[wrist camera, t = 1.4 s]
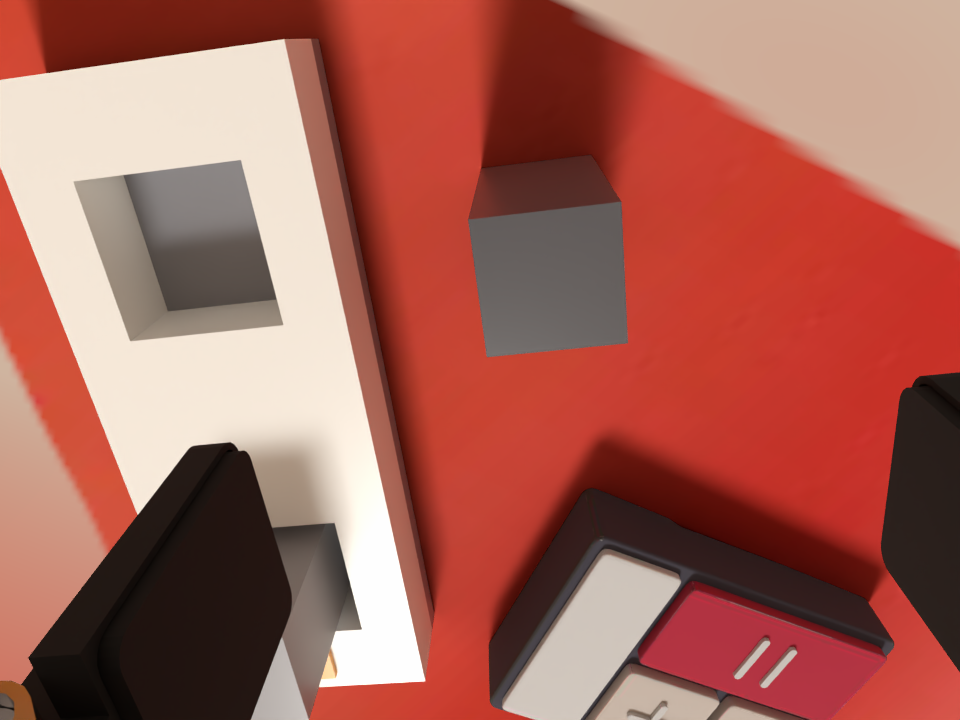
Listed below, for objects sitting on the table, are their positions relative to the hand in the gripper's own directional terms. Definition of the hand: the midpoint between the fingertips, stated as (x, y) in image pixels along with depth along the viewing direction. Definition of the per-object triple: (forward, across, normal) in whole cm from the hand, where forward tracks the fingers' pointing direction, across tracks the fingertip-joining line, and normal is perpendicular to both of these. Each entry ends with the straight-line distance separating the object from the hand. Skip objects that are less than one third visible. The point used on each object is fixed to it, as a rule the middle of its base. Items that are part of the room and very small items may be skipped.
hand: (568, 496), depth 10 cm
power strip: (+18, +12, +6) cm, 22 cm away
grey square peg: (+17, +12, +13) cm, 24 cm away
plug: (+18, 0, 0) cm, 18 cm away
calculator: (+18, -5, +21) cm, 28 cm away
